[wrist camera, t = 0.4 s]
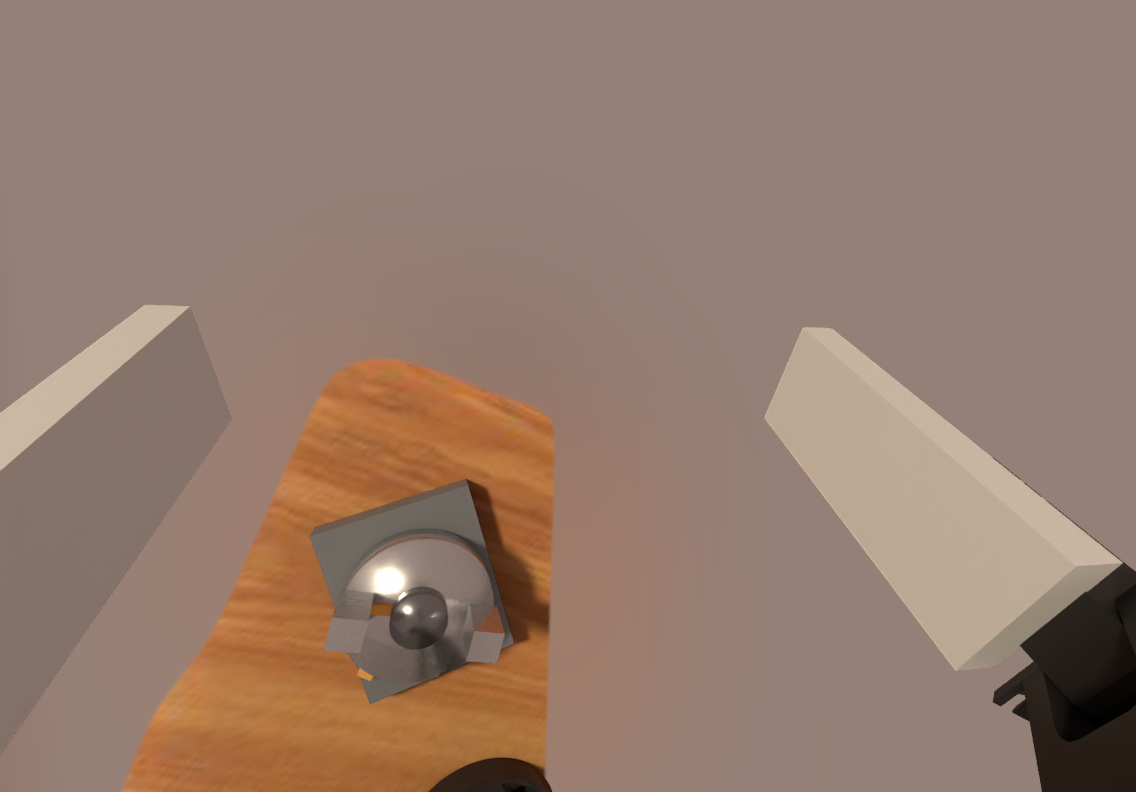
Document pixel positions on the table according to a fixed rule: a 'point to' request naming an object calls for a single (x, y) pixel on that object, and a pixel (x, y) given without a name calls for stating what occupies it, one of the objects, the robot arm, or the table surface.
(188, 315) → the robot arm
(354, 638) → the silver metal dome
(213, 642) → the table surface
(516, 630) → the table surface
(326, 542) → the gray square base plate
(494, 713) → the table surface
